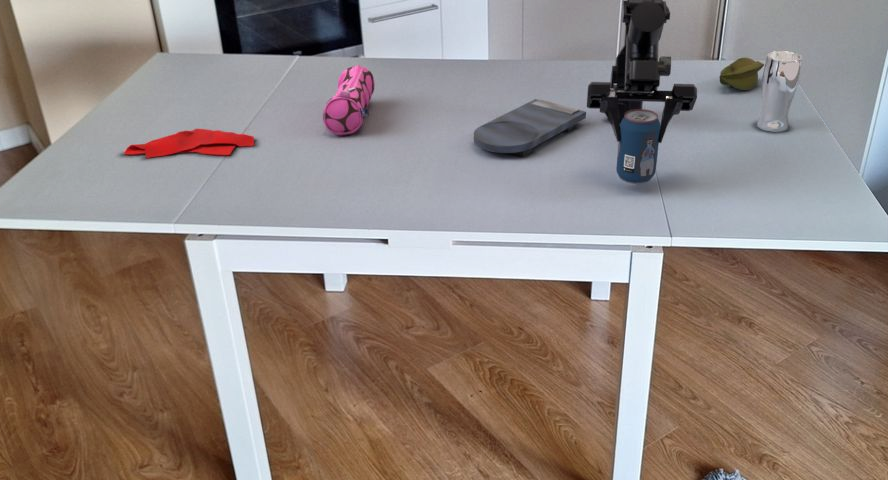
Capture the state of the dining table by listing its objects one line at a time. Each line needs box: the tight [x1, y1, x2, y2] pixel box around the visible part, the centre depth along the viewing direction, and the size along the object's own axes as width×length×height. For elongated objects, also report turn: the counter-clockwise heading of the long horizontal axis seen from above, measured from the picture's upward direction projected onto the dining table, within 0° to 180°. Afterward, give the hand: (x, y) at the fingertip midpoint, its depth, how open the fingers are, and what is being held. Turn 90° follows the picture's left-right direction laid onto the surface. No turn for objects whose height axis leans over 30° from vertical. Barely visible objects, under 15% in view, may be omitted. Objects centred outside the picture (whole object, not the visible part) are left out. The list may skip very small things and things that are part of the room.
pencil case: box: [322, 64, 375, 136], centre depth 195 cm, size 21×10×10 cm, turn 178°
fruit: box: [719, 57, 765, 91], centre depth 207 cm, size 11×12×7 cm
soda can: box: [615, 108, 661, 185], centre depth 160 cm, size 7×7×12 cm
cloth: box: [123, 128, 255, 159], centre depth 187 cm, size 26×14×2 cm, turn 89°
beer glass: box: [756, 50, 803, 133], centre depth 183 cm, size 7×7×15 cm
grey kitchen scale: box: [473, 98, 587, 157], centre depth 185 cm, size 26×13×3 cm, turn 140°
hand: (639, 141), depth 158 cm, fingers closed on soda can, 7 cm apart
